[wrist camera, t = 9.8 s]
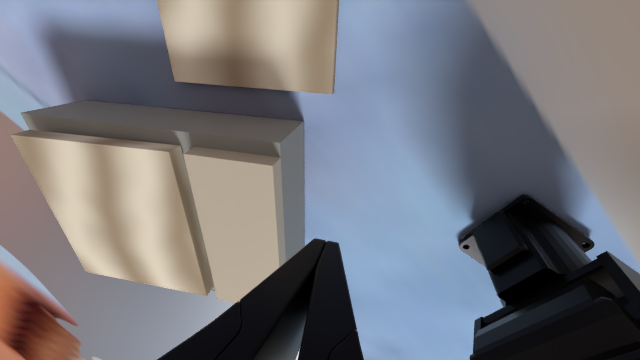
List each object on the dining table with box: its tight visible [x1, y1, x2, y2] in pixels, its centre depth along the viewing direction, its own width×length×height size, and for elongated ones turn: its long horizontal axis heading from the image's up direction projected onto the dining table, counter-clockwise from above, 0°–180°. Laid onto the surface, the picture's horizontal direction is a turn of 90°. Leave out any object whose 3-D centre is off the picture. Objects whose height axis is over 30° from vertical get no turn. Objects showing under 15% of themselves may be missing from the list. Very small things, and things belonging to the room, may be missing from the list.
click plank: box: [11, 130, 214, 296], centre depth 22 cm, size 13×14×1 cm
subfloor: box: [21, 100, 305, 303], centre depth 24 cm, size 22×16×6 cm
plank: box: [157, 0, 339, 94], centre depth 19 cm, size 13×7×1 cm, turn 88°
